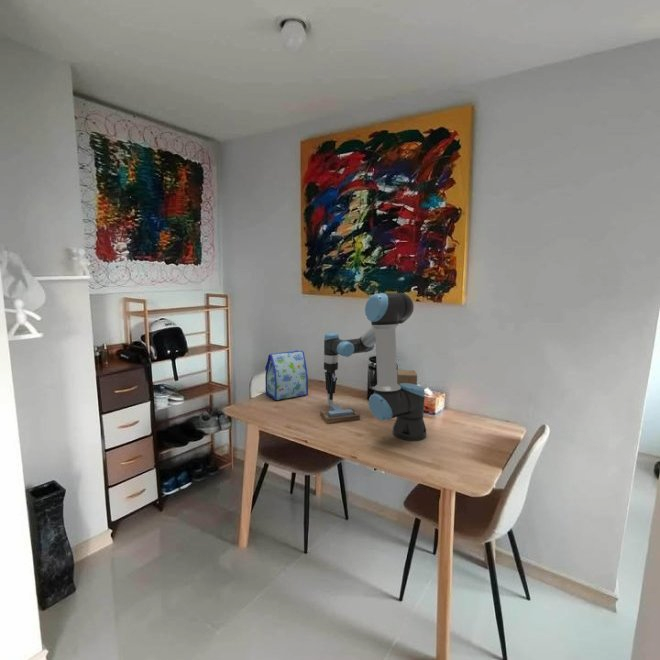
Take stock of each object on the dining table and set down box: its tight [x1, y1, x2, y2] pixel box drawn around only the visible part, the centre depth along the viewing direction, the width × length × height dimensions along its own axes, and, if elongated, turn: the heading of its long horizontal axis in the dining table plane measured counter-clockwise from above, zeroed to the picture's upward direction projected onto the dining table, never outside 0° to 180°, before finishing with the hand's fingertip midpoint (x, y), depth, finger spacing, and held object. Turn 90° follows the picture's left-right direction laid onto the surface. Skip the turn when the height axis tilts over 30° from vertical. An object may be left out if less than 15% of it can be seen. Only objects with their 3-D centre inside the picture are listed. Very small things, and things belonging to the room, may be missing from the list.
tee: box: [327, 403, 353, 418], centre depth 199 cm, size 12×12×4 cm
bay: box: [319, 407, 361, 425], centre depth 195 cm, size 12×17×2 cm
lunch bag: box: [264, 349, 309, 401], centre depth 226 cm, size 22×17×26 cm
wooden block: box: [397, 369, 418, 385], centre depth 209 cm, size 10×10×20 cm
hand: (330, 404), depth 209 cm, fingers closed
